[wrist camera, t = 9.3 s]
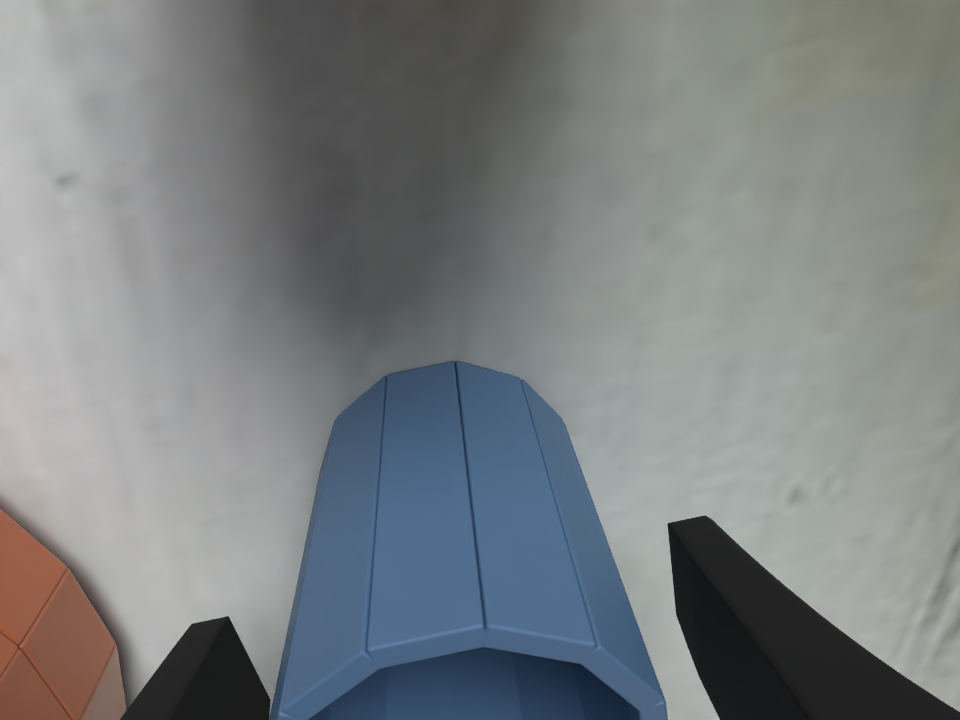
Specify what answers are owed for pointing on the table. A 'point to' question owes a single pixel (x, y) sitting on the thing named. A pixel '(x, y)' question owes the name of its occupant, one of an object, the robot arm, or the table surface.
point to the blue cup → (459, 567)
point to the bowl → (51, 639)
